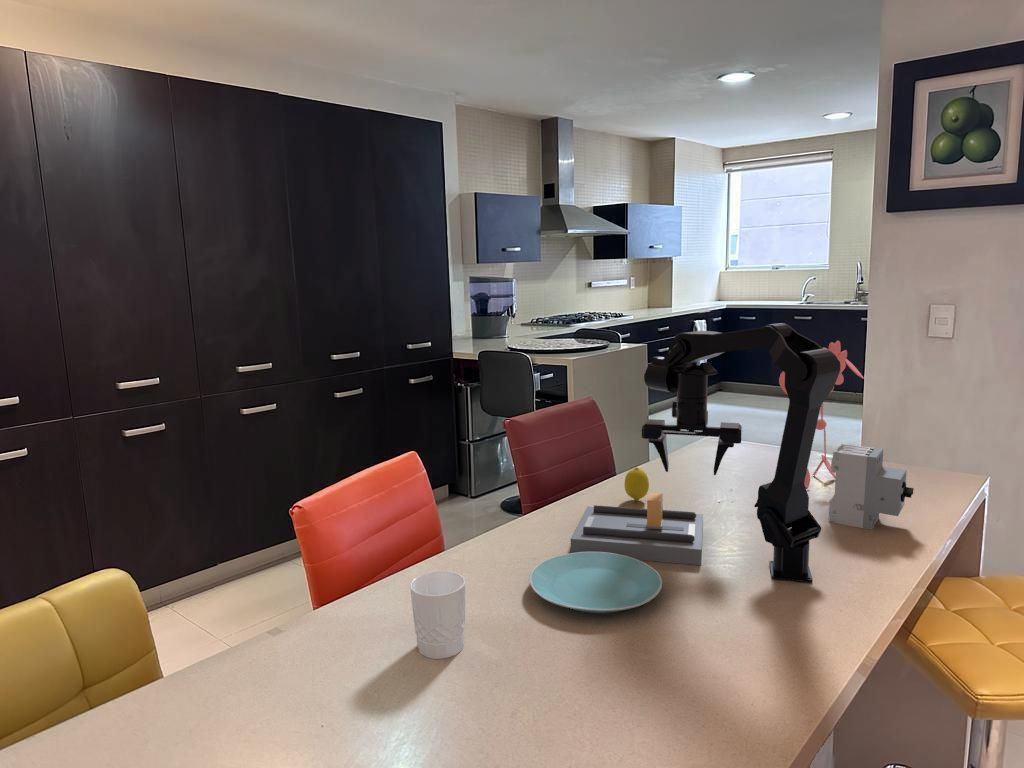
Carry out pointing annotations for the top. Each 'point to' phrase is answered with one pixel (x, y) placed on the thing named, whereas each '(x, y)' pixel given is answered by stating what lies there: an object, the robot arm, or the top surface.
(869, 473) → the circuit breaker
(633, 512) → the grey slider track
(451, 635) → the white cup
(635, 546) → the panel
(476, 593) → the top surface
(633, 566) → the plate
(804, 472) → the robot arm
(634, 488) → the lemon
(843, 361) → the figurine
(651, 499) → the breaker handle
